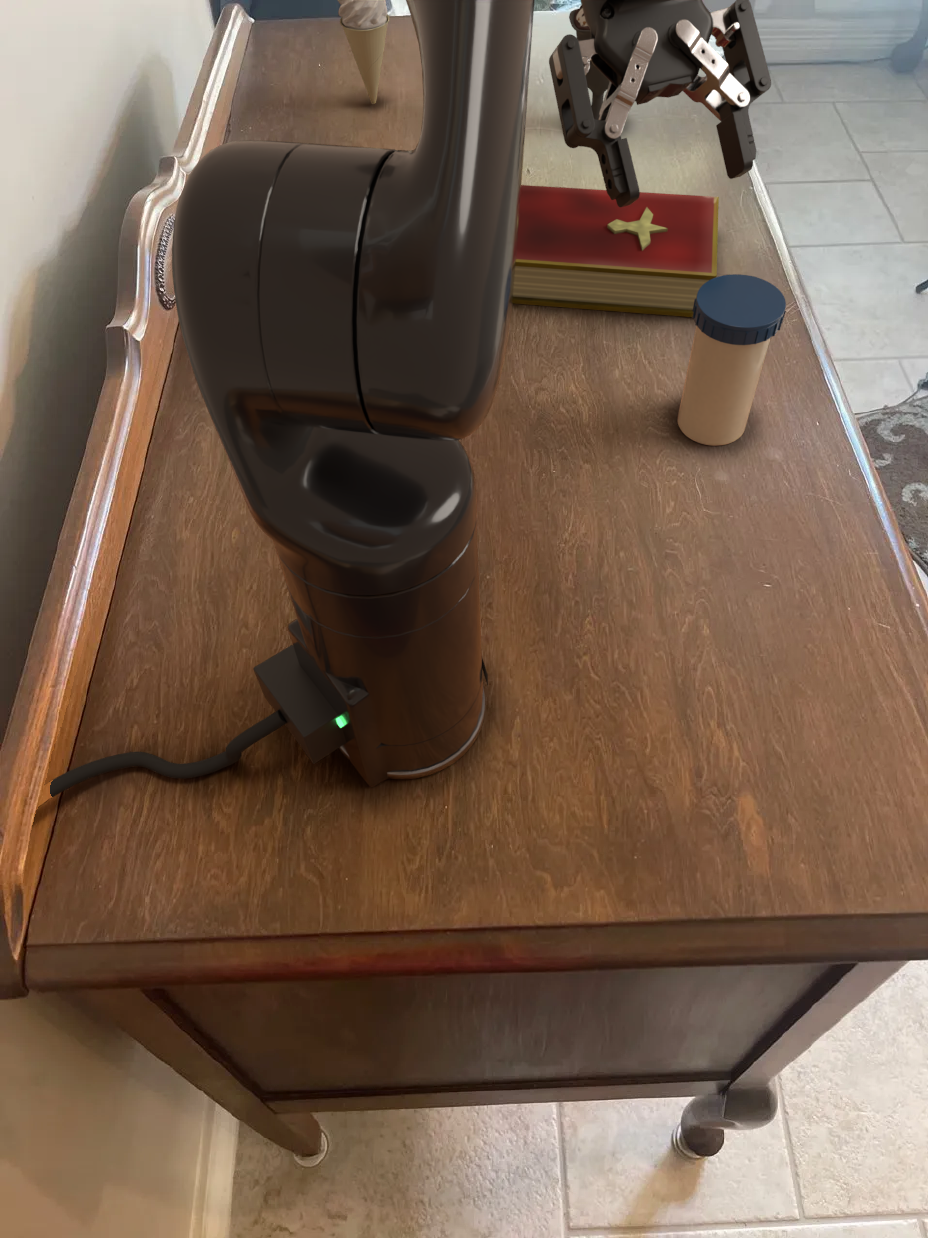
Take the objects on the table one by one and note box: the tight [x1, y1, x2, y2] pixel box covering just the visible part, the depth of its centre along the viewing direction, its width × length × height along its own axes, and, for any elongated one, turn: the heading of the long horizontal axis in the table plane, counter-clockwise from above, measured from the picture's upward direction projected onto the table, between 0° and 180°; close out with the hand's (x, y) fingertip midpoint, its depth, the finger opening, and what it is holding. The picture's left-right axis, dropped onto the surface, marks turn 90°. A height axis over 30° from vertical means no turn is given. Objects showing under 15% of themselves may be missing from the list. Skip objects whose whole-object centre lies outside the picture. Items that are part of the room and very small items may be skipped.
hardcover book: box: [512, 184, 720, 318], centre depth 79 cm, size 12×21×4 cm, turn 80°
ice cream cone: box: [337, 0, 390, 105], centre depth 93 cm, size 5×5×15 cm
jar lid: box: [691, 273, 787, 345], centre depth 61 cm, size 6×6×1 cm
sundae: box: [568, 4, 610, 120], centre depth 89 cm, size 7×7×15 cm
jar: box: [677, 325, 772, 446], centre depth 64 cm, size 5×5×10 cm
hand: (686, 188), depth 62 cm, fingers open, 8 cm apart
